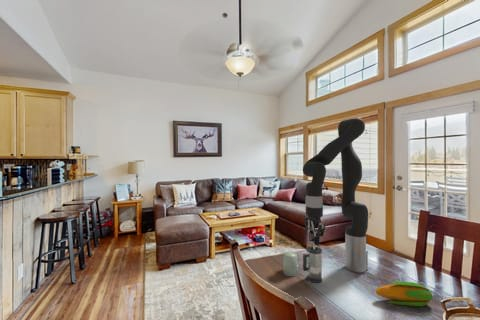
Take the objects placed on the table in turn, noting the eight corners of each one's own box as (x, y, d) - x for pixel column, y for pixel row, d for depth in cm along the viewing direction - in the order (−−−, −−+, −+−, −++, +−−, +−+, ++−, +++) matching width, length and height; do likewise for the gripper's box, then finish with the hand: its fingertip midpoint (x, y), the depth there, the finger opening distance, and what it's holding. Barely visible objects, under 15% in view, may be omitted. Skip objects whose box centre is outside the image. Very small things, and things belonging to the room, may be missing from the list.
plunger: (315, 260, 103) (315, 231, 103) (320, 264, 100) (319, 234, 100) (308, 261, 103) (308, 232, 102) (312, 265, 99) (312, 234, 99)
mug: (291, 267, 112) (291, 249, 112) (299, 275, 105) (299, 256, 105) (279, 269, 111) (279, 251, 111) (287, 277, 103) (287, 258, 103)
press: (316, 274, 105) (316, 245, 105) (325, 282, 99) (325, 251, 99) (300, 277, 103) (300, 247, 103) (307, 285, 97) (307, 253, 97)
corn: (438, 289, 80) (380, 286, 83) (439, 311, 80) (381, 307, 82) (424, 279, 88) (370, 277, 90) (424, 299, 87) (371, 296, 89)
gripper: (331, 208, 95) (331, 248, 95) (312, 202, 109) (312, 236, 109) (315, 209, 93) (315, 249, 93) (298, 202, 107) (299, 238, 107)
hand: (314, 242), depth 101 cm, fingers closed on plunger, 3 cm apart
